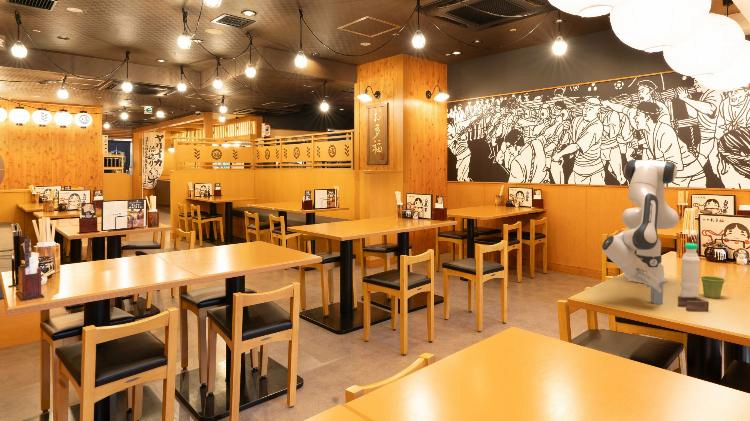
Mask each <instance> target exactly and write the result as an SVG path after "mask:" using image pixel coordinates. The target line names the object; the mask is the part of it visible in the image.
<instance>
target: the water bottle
mask: <svg viewBox="0 0 750 421" xmlns="http://www.w3.org/2000/svg"><path fill="white" fill-rule="evenodd" d="M698 246H699V245H698V244H697V243H692V242H691V243H690V242H689V243H685V247H684V248H685V252H684V254H683V255H682V257H681V267H680V268H681V269H680V271H681V272H680V280H681V281H680V292H679V295H680V296H679V297H699V288H700V284H699V282H700V272H701V271H700V269H701V268H700V267H701V266H700V262H701V259H700V257H699V254H698V253H697V250H698ZM699 298H700V297H699Z"/></svg>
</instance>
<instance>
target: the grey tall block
mask: <svg viewBox="0 0 750 421" xmlns="http://www.w3.org/2000/svg"><path fill="white" fill-rule="evenodd" d="M658 281H659V282H660V285H659V287H660V288H661V289H662V292H661V293H659V292H657V291H656V290H655V289H654V288H652V287H650V299H649V301H650V303H651V304H653V303H654V305H663V298H664V282H663V281H661V280H658Z"/></svg>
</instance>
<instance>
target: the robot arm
mask: <svg viewBox="0 0 750 421" xmlns="http://www.w3.org/2000/svg"><path fill="white" fill-rule="evenodd" d="M623 173H624V177H625V179H626V180H627V181H630V182H629V187H628V191H627V192H628V193H627V198H628V199H629V201H630V203H631V204H633V205H635V206H638V207H630V208H626V209H625V210H624V211H623V212H622V214H621V220H622V223H623V225H624V226H625V227H627V228H628V229H625V230H622V231H620V232H618V233H617V234H616V235H609V236H608V237H607V238H606V239H605V240H603V242H602V245H601V249H602V251H603V253H604V254H605V255H606V257H607V258H609V259H610V261H612V263H614V264H616V265H617V266H618V268H619V269H620V270H621V272H623V276H624V278H625V279H626V280H627V281H628V282H634V283H638V284H644V285H645V286H646V287H647V288H650V289H651V287H652V288H654V289H655V290H656V291H657V292H659V293H661V292H662V289H661V288H660V287H659V285H660V282H659V281H658V280H661V281H663V283H665V282H668V281H667V279H666V278H665V268H664V265H663V264H662V260H663V258H662V254H661V253H662V241H661V240H660V238H659V235H658V230H667V229H674V228H675V227H676V226H678V224H679V221H680V215H679V213H678V212H677V211H676V210H675V209H673V208H672V207H670V206H669V204H668V203H667V202H666V199H665V190H666V189H665V188H666V186H665V185H667V184H671V183H673V182H674V180H675V179H676V177H677V175H678V169H677V165H676V164H675V163H674V162H671V161H664V160H657V159H639V160H638V159H630V160H629V161H627V162H626V163H625V166H624V168H623Z"/></svg>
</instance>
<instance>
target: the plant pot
mask: <svg viewBox="0 0 750 421" xmlns="http://www.w3.org/2000/svg"><path fill="white" fill-rule="evenodd" d="M700 279H701V283H702V290H703V296H704V297H708V298H710V299H719V298H721V294H722V289H723V285H724V283H725V282H726V278H723V277H719V276H713V275H703V276H700Z"/></svg>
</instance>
